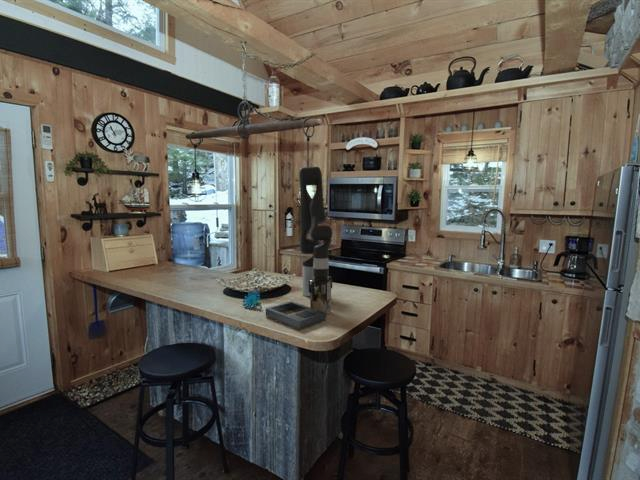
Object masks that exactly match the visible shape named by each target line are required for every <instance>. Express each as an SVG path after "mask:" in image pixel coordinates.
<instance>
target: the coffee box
mask: <svg viewBox="0 0 640 480" xmlns="http://www.w3.org/2000/svg"><path fill="white" fill-rule="evenodd" d="M313 280H314V279H313ZM313 280H312V281H313ZM314 284H315V285H314V287H318V285H319V290H318V291H317V293H316V294H317V301H313V300H312V293H310V296H309V301H310V302H309V307H310V308H313V309H316V310H319V311H322V312H325V313H326V316H328V315H329V314H330V313H331V312H332V289H331V280H326V281H323V282H318V285H317V284H316V283H314ZM311 290H312V288H311ZM315 290H316V289H314V291H315Z"/></svg>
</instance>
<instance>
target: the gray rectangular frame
mask: <svg viewBox="0 0 640 480" xmlns="http://www.w3.org/2000/svg"><path fill="white" fill-rule="evenodd" d="M290 311H292V312H294V313H290V314H285V313H286V312H290ZM283 312H284V313H283ZM266 316H268V317H270V318H269V319H271V318H272V319H271V320H273V319H274V321H276V320H277V321H276V322H278V321H279V322H278V323H280V322H281V324H283V325H285V324H286V325H285V326H288V327H290V328H292V327H293V328H292V329H295V330H297V331H302V330H304V329H308V328H310V327H313V326H315V325H319V324H321V323H324V322H326V321H327V320H326V319H327V317H326V316H327V315H326V313H325V312H322V311H319V310H316V309H313V308H310V306H306V305H304V304H301V303H298V302H294V301H291V300H290V301H288V302H287V301H286V302H284V303H281V304H276V305H273V306H269V307H266V308H265V317H266ZM268 317H267V318H268Z"/></svg>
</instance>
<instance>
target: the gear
mask: <svg viewBox="0 0 640 480" xmlns="http://www.w3.org/2000/svg"><path fill="white" fill-rule="evenodd" d="M260 297H261V294H260V293H259V292H258V291H254V290H253V291H251V292H248V293H247V295H245V296H244V299H243V300H242V302H243V303H242V307H244V308H245V309H246V308H247V307H248V308H247V309H249V308H251V309H252V308H255V307H256V306H258V307H260V308H262V305H261V301H260V300H261V298H260ZM245 299H246V300H245ZM257 300H258V301H257Z"/></svg>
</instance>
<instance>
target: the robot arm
mask: <svg viewBox="0 0 640 480" xmlns="http://www.w3.org/2000/svg"><path fill="white" fill-rule="evenodd" d="M298 173H299V175H298V176H299V190H300V205H299V207H300V215H299V216H300V218H299V219H300V237H299V238H300V241H299V242H300V243H299V250H300V253H301V254H303V255H312V256H310V257H309V258H306V259H304V260H302V295H303V296H304V297H310V293H312V300H313V301H317V294H316V293H317V291H318V290H319V285H318V282H323V281H326V280H331V290H332V289H333V277H332V276H329V275H330V270H329V268H330V266H329V265H330V264H329V262H330V261H329V249H330V245H331V241H332V238H333V229H332V227H331V226H330V225H319V224H321V223H324V222H326V220H327V217H326V210H325V205H324V192H323V191H324V190H323V175H322V170H321V168H320V167H319V166H303V167H300V169H299V172H298ZM307 186H316V187H315V189H316V190H315V192H314V195H313V196H312V197H311V195H310V193H309V191H308V189H307ZM309 231H310V232H309ZM308 234H309V235H310V237H307V236H308ZM320 241H322V242H321V244H320ZM313 279H314V280H313ZM312 280H313V281H312ZM314 283H316V284H317V285H318V287H314V285H315V284H314ZM311 288H312V290H311ZM314 289H316V290H315V291H314Z"/></svg>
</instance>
